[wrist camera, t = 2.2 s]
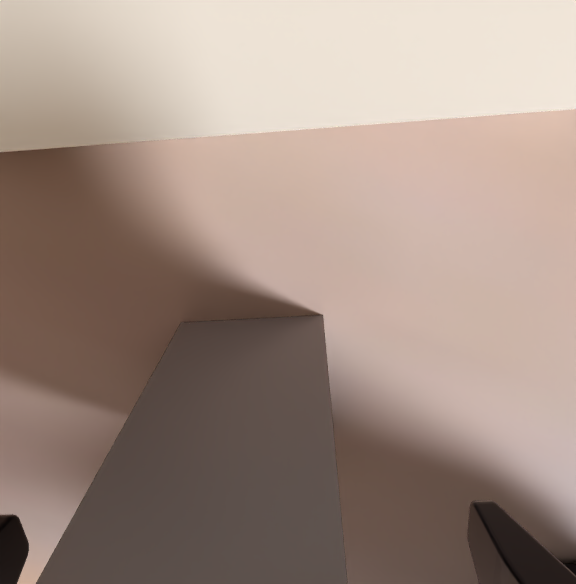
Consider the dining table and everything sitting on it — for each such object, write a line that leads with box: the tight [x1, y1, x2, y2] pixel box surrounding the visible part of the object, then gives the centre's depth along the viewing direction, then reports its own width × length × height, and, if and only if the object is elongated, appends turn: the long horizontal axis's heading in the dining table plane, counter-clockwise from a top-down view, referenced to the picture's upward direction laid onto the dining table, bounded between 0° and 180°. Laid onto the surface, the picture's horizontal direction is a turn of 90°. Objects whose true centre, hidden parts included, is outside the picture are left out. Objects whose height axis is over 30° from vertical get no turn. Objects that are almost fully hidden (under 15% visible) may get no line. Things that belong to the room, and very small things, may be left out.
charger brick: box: [36, 315, 347, 584], centre depth 9 cm, size 4×4×10 cm
